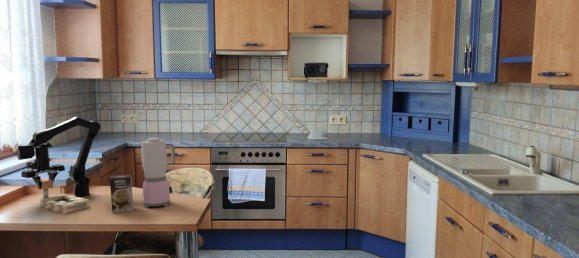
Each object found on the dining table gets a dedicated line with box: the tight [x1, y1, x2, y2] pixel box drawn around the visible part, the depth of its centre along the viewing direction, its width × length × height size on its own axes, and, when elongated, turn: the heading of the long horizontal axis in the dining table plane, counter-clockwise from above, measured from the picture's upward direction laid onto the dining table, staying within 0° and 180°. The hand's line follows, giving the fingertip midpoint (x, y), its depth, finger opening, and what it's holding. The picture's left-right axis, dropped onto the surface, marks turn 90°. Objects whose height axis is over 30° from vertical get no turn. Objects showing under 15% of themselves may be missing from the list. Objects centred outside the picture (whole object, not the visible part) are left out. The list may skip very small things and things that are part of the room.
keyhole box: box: [39, 193, 90, 215], centre depth 217 cm, size 20×12×4 cm, turn 57°
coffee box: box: [109, 174, 134, 214], centre depth 210 cm, size 9×6×16 cm
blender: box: [139, 137, 176, 209], centre depth 216 cm, size 16×12×32 cm
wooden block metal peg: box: [36, 178, 54, 200], centre depth 225 cm, size 5×5×11 cm
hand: (45, 188), depth 225 cm, fingers closed on wooden block metal peg, 5 cm apart
